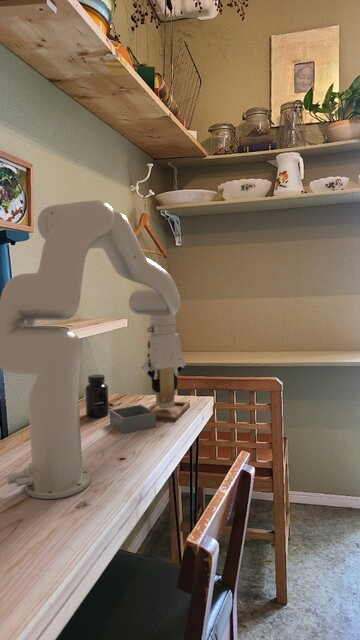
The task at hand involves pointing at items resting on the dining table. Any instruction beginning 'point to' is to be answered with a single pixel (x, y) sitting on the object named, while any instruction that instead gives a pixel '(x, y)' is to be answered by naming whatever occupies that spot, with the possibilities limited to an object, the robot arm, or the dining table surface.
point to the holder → (132, 418)
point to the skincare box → (166, 388)
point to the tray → (170, 411)
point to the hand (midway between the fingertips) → (164, 389)
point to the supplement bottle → (96, 397)
